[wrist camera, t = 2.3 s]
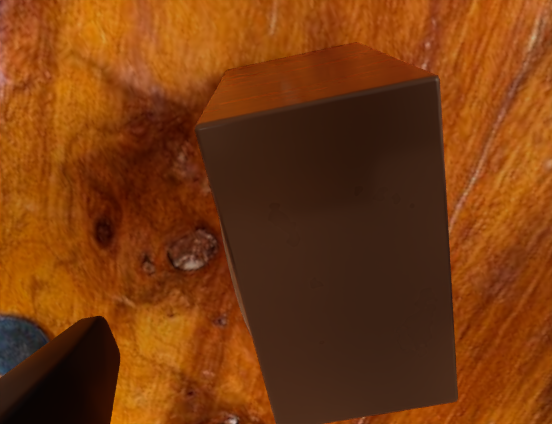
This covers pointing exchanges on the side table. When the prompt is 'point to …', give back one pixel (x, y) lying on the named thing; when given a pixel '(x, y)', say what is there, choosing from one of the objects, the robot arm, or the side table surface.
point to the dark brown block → (336, 229)
